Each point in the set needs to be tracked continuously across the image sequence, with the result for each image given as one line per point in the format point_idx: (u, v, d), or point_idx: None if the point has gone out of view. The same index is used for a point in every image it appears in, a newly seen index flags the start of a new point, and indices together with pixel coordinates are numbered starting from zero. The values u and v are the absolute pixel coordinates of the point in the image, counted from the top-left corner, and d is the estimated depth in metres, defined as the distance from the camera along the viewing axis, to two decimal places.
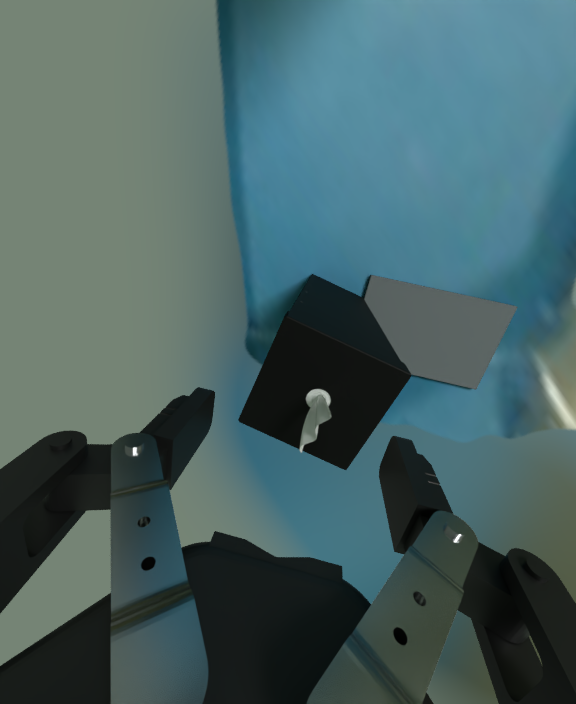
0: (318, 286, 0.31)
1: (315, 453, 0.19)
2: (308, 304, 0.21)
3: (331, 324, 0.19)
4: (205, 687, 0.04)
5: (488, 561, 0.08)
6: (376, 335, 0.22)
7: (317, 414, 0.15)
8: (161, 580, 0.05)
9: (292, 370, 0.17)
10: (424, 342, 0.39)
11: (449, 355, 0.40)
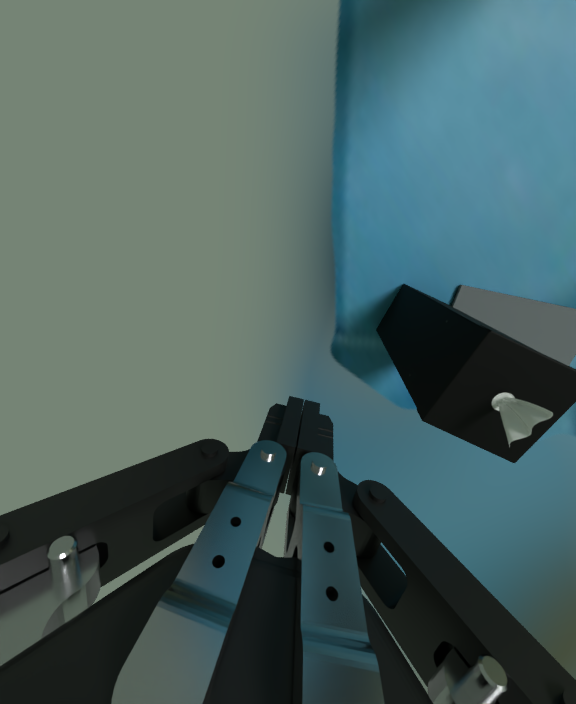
0: (429, 297, 0.34)
1: (489, 448, 0.22)
2: (466, 317, 0.24)
3: None
4: None
5: (346, 491, 0.09)
6: (523, 344, 0.24)
7: (526, 414, 0.18)
8: (218, 585, 0.05)
9: (485, 376, 0.20)
10: None
11: None
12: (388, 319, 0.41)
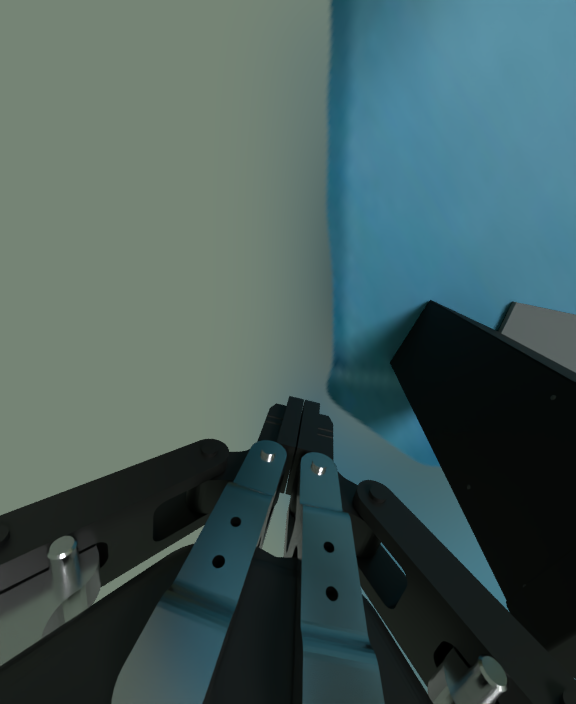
0: (481, 327, 0.21)
1: None
2: None
3: None
4: None
5: (346, 491, 0.09)
6: None
7: None
8: (218, 586, 0.05)
9: None
10: None
11: None
12: (408, 352, 0.28)
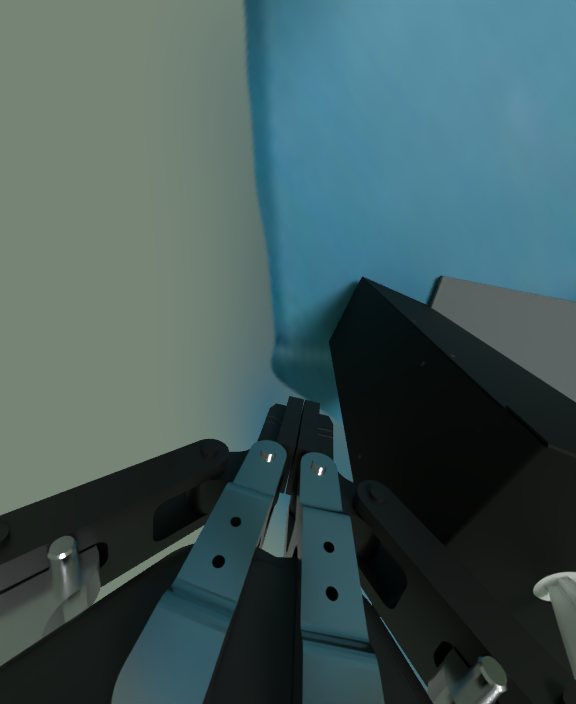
0: (396, 300, 0.21)
1: None
2: (461, 358, 0.12)
3: (549, 412, 0.10)
4: None
5: (346, 491, 0.09)
6: (570, 403, 0.13)
7: None
8: (218, 585, 0.05)
9: (523, 542, 0.08)
10: None
11: (541, 379, 0.30)
12: (342, 330, 0.28)
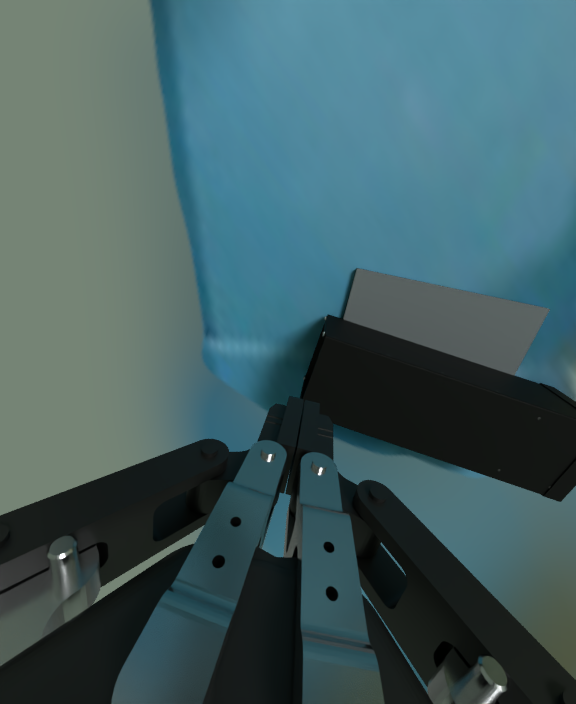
0: (420, 362, 0.24)
1: None
2: (544, 404, 0.24)
3: (559, 403, 0.25)
4: None
5: (346, 491, 0.09)
6: (504, 374, 0.29)
7: None
8: (218, 586, 0.05)
9: None
10: None
11: None
12: (336, 398, 0.25)
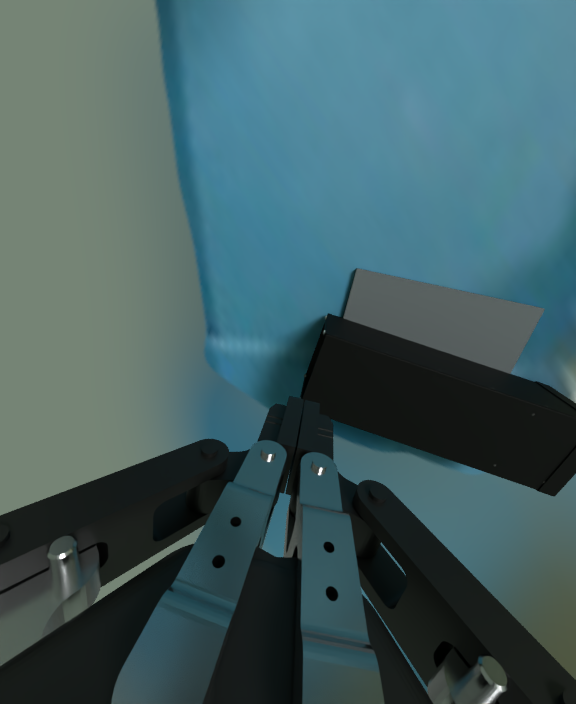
0: (417, 359, 0.25)
1: None
2: (538, 401, 0.25)
3: (553, 400, 0.26)
4: None
5: (346, 491, 0.09)
6: (500, 373, 0.30)
7: None
8: (218, 585, 0.05)
9: None
10: None
11: None
12: (336, 395, 0.26)
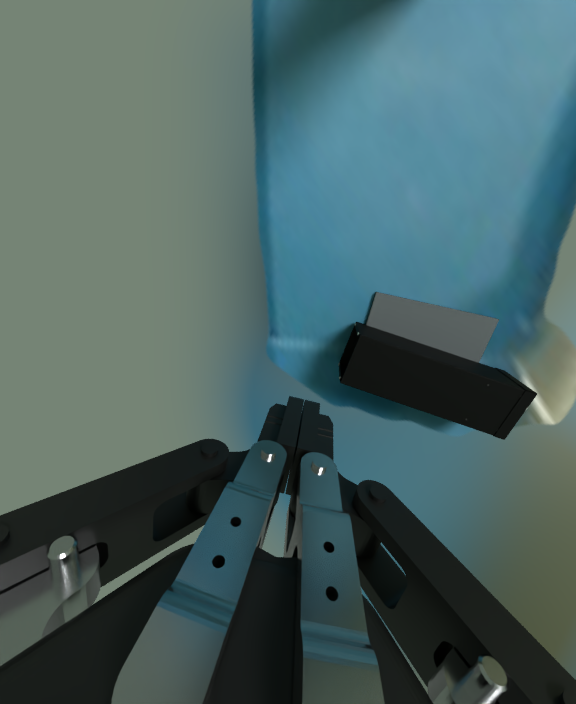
0: (417, 351, 0.40)
1: None
2: (492, 377, 0.39)
3: (503, 378, 0.41)
4: None
5: (346, 491, 0.09)
6: (471, 361, 0.45)
7: None
8: (218, 585, 0.05)
9: None
10: None
11: None
12: (365, 374, 0.41)
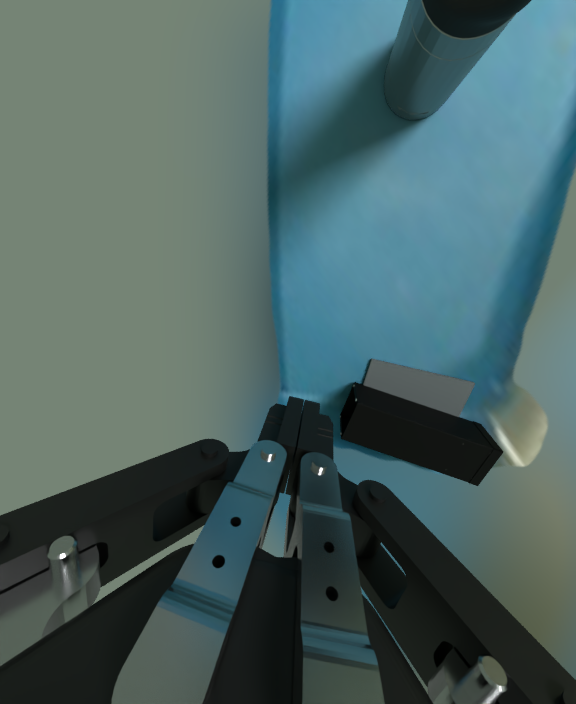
0: (404, 414, 0.48)
1: None
2: (466, 436, 0.48)
3: (477, 435, 0.49)
4: None
5: (346, 491, 0.09)
6: (452, 417, 0.53)
7: None
8: (218, 585, 0.05)
9: None
10: None
11: None
12: (362, 432, 0.49)
